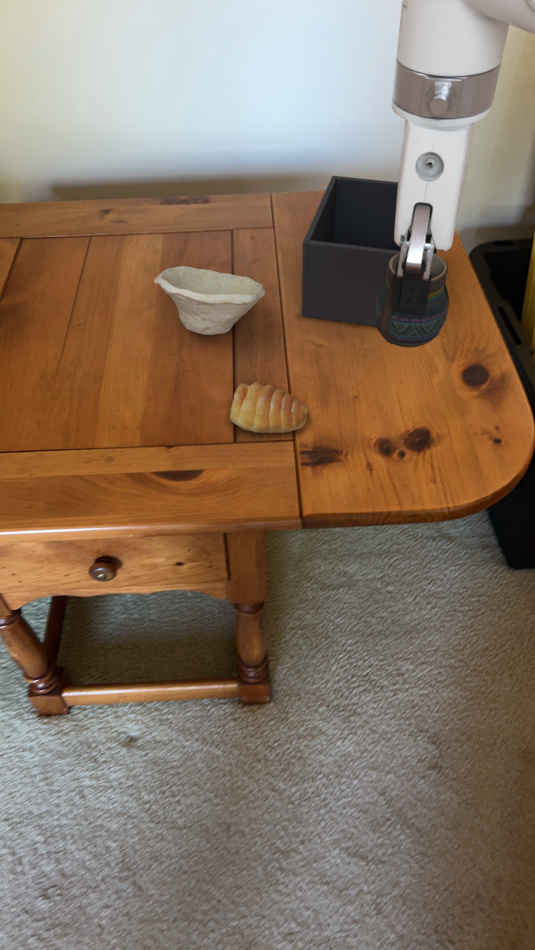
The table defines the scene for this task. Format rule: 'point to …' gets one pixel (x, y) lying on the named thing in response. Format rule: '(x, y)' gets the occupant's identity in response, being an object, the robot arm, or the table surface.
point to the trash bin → (349, 250)
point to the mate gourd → (411, 326)
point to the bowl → (209, 297)
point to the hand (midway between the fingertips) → (412, 288)
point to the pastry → (267, 409)
